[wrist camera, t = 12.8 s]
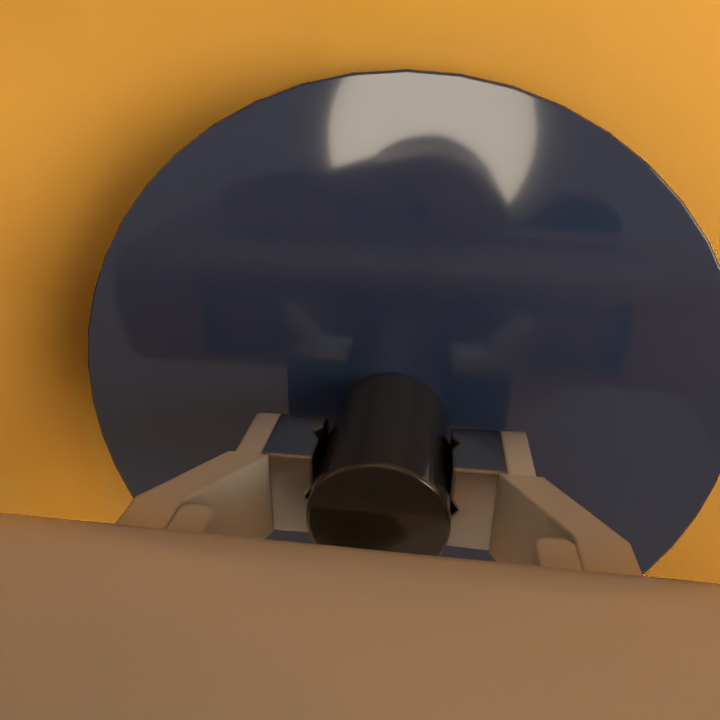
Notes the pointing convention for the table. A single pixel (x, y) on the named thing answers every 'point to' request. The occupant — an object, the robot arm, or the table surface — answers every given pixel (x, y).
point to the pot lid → (416, 308)
